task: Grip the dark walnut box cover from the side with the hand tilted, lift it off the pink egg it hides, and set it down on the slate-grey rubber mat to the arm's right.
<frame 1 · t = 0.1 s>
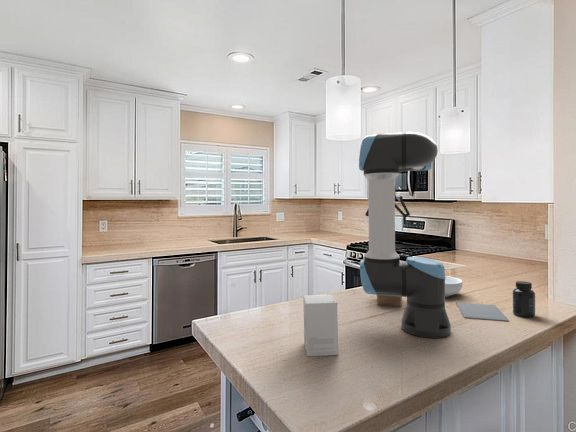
hand: (387, 231, 162), 28 cm above the countertop, tool pointing down, fingers open, 13 cm apart
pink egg: (389, 302, 142), on the countertop
slate mat: (480, 311, 128), on the countertop
walnut cover: (389, 302, 142), on the countertop
supplement bottle: (523, 315, 124), on the countertop
supplement box: (320, 350, 99), on the countertop
cereal bowl: (441, 294, 153), on the countertop
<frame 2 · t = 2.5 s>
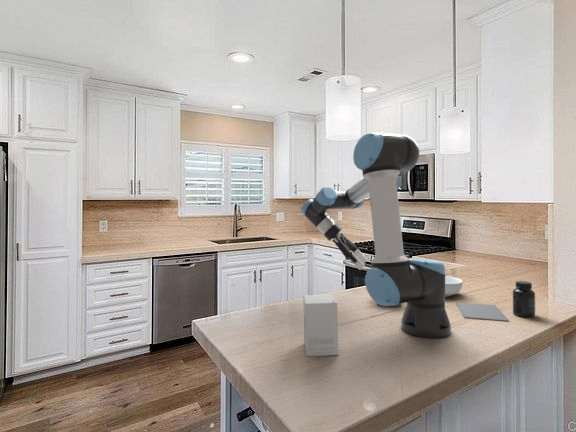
hand: (364, 264, 145), 15 cm above the countertop, tool tilted 45°, fingers open, 13 cm apart
nothing on the countertop moved.
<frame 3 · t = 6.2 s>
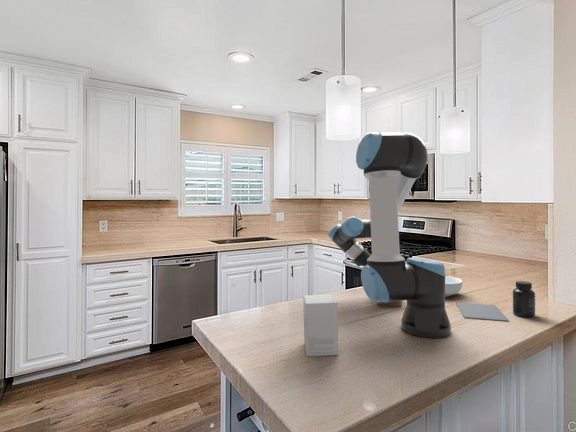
hand: (397, 293, 141), 4 cm above the countertop, tool tilted 45°, fingers closed on walnut cover, 10 cm apart
walnut cover: (389, 302, 142), on the countertop, touching gripper
everything else where it was.
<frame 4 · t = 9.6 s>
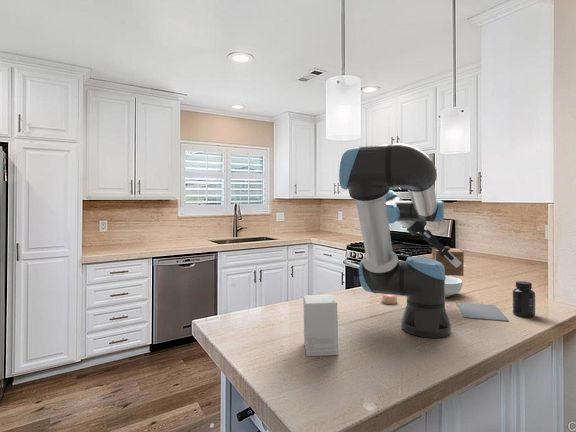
hand: (455, 263, 132), 18 cm above the countertop, tool tilted 45°, fingers closed on walnut cover, 10 cm apart
walnut cover: (447, 272, 133), point 14 cm above the countertop, touching gripper
everything else where it was.
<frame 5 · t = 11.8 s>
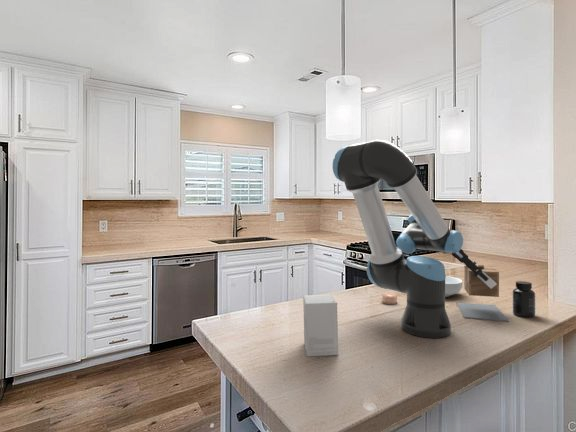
hand: (490, 282, 127), 11 cm above the countertop, tool tilted 45°, fingers closed on walnut cover, 10 cm apart
walnut cover: (480, 292, 128), point 7 cm above the countertop, touching gripper
everything else where it was.
when the fingers open (5 cm above the countertop, at t = 13.3 s): walnut cover drops 1 cm, resting on slate mat.
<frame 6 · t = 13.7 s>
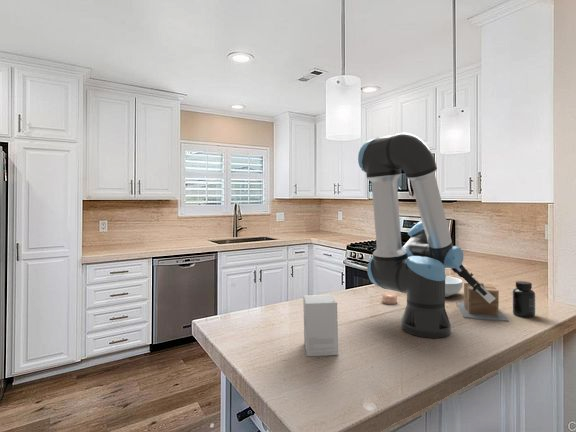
hand: (487, 295, 127), 6 cm above the countertop, tool tilted 45°, fingers open, 13 cm apart
walnut cover: (480, 310, 128), resting on slate mat
everything else where it was.
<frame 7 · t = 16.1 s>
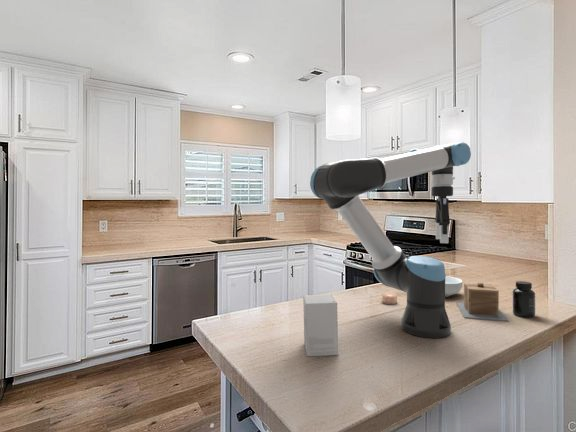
hand: (441, 241, 131), 26 cm above the countertop, tool pointing down, fingers open, 13 cm apart
nothing on the countertop moved.
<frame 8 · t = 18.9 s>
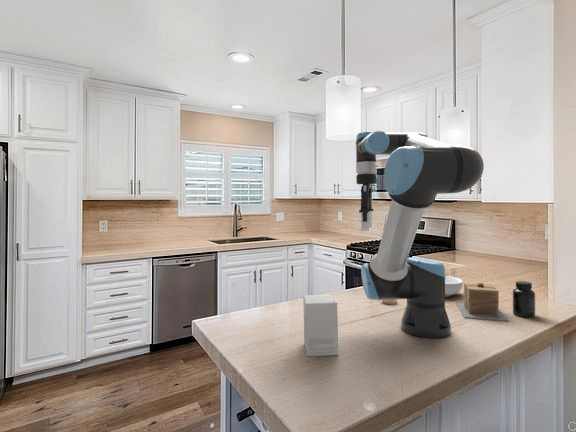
hand: (366, 229, 131), 32 cm above the countertop, tool pointing down, fingers open, 13 cm apart
nothing on the countertop moved.
at the end: walnut cover inside the target area on the slate mat (0.1 cm from its centre), point 0.4 cm above the slate mat's base; walnut cover tilted 0°; walnut cover moved 33.2 cm from its start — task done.
